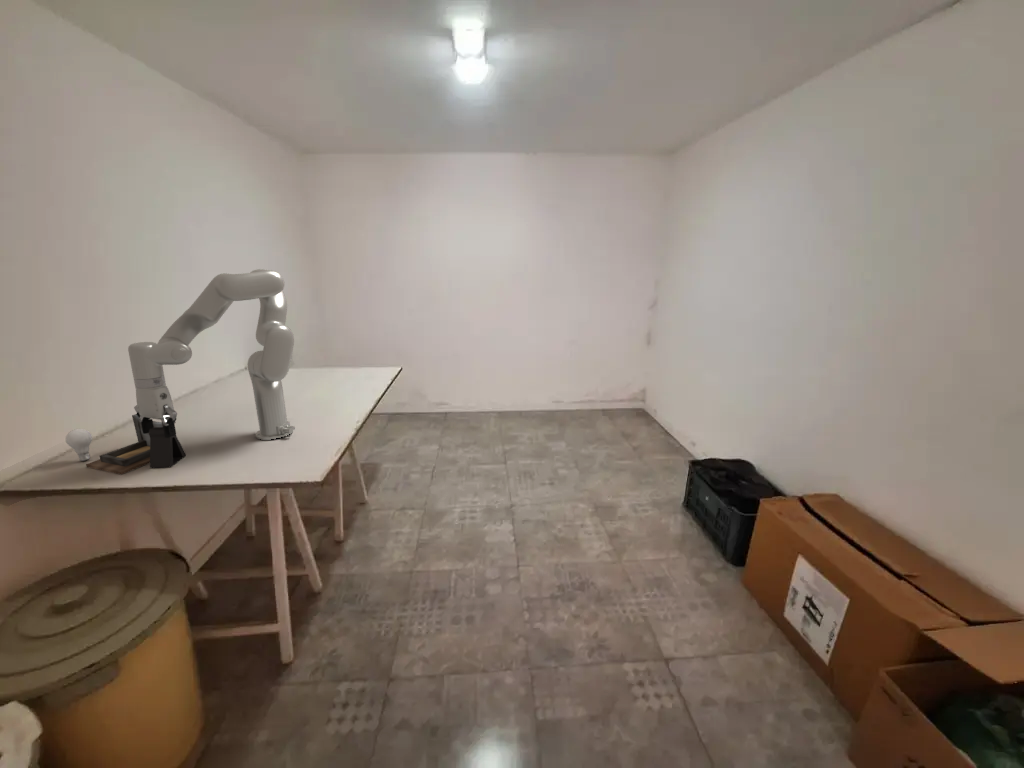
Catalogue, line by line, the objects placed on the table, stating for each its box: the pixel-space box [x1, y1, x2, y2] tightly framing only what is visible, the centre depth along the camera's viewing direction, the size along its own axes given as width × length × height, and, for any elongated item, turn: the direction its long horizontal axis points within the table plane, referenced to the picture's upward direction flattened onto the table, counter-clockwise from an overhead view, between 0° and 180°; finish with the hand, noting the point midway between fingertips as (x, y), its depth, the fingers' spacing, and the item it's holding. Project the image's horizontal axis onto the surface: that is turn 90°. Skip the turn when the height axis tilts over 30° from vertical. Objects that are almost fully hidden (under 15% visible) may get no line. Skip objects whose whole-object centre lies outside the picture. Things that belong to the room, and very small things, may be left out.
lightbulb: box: [65, 428, 93, 462], centre depth 151 cm, size 6×6×11 cm
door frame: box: [86, 413, 168, 476], centre depth 152 cm, size 16×18×12 cm
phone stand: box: [149, 427, 187, 469], centre depth 150 cm, size 9×6×12 cm, turn 5°
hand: (159, 434), depth 148 cm, fingers open, 9 cm apart
